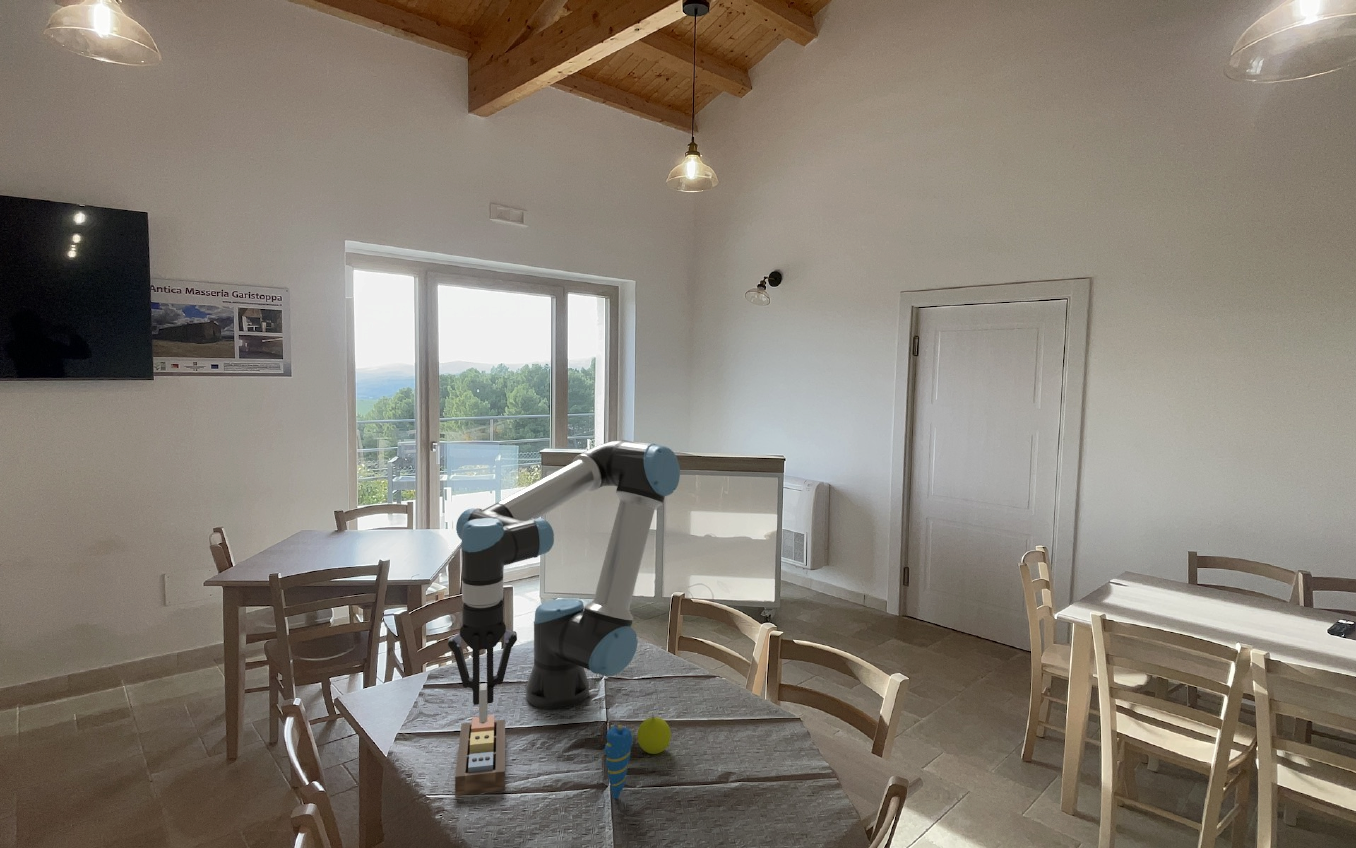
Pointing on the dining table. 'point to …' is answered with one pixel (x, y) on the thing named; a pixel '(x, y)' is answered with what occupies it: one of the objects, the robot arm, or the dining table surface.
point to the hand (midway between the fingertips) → (483, 718)
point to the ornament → (618, 757)
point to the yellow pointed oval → (654, 735)
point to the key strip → (484, 779)
